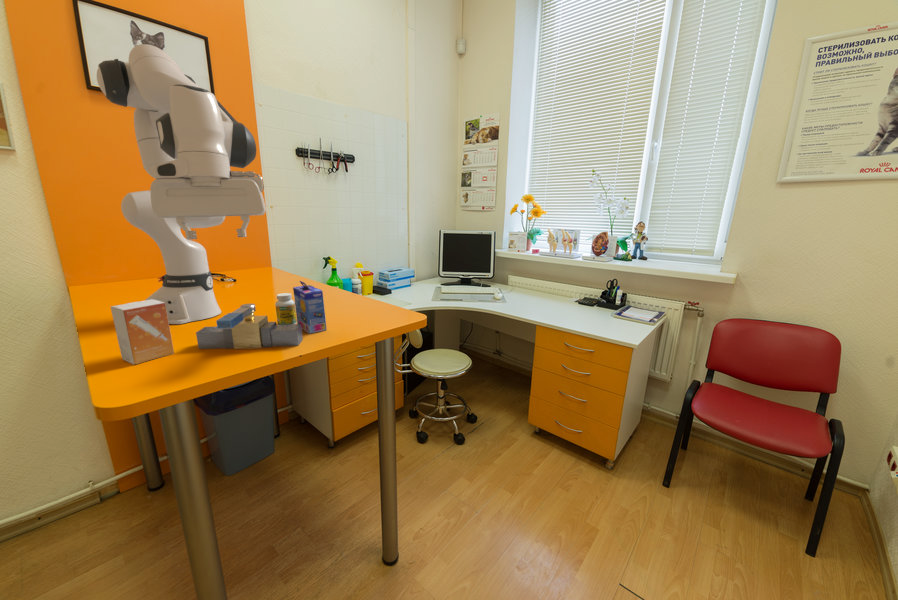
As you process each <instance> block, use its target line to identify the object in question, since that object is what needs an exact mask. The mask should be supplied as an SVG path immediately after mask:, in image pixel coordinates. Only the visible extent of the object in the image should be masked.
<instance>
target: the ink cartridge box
mask: <svg viewBox="0 0 898 600" xmlns="http://www.w3.org/2000/svg"><path fill="white" fill-rule="evenodd" d="M299 283H300V284H301V286H294V287H292V290H293V297H294V298H293V299H294V302H295V311H296V320H297V323H296V325H297V324H301V325H302V331H303V330H304V331H305V332H306V333H307V334H314V333H319V332H324V331H327V330H328V329H327V320H326V312H325V311H326V310H325V302H324V293H323V290H322V289H321V288H317V287H315V286H313V285H310V284H308V285H307V284H306V283H305V282H304V281H301V280H299Z"/></svg>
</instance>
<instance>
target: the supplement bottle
mask: <svg viewBox="0 0 898 600" xmlns="http://www.w3.org/2000/svg"><path fill="white" fill-rule="evenodd" d="M276 299H277V301H276V302H275V305H274V306H275V312H276V320H277V321H276V324H277V325H297V316H296V308H295V300H293V299H292V293H290V292H283V293H278V294H276Z"/></svg>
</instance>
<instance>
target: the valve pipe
mask: <svg viewBox="0 0 898 600" xmlns="http://www.w3.org/2000/svg"><path fill="white" fill-rule="evenodd" d="M195 335H196V340H197V346H198V349H199V350H204V349H205V350H206V349H207V350H208V349H213V350H214V349H226V350H227V349H228V350H229V349H234V350H249V349H250V350H251V349H252V350H253V349H263V348H273V347H296V346H300V344H301V343H302V341H303V338H304V337H303V329H302V325H301V324H297V323H296V324H295V325H278V323H277V321H269V318H268V315H255V312H252V313H251V314H249V315H248V316H246V317H245V318H244V319H243V321H241V322H240V323H239V324H237V325H236V326H234V327H233V328H220V329H217V326H204V327H202V328H200V329H199V330H198V331H196V332H195Z"/></svg>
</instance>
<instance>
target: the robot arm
mask: <svg viewBox="0 0 898 600" xmlns="http://www.w3.org/2000/svg"><path fill="white" fill-rule="evenodd" d="M96 81H97V85H98V87H99V89H100V90H101V93H103V94H104V96H105V99H107V100H108V101H109V102H110V103H112V104H115V105H118V106H121V107H125V108H127V107H131V108H135V110H134V112H133V124H134V125H133V126H134V133H135V139H136V143H137V147H138V152H139V155H140V158H141V159H140V160H141V163H142V167H143V169H144V170H145V172H147V174H148V175H149V176H150V177H152V178H153V179H154V180H153V181H151V184H150V187H149V188H150V190H149V189H148V190H140V191H133V192H127V194H126V195H124V196H123V198H122V200H121V204H120V208H121V209H120V210H121V212H122V215H123V217H124V218H125V220H126V221H127V222H128V223H130V225H132V226H133V227H135V228H137V229H138V230H141V231H143V232H144V233H145V234H147V236H149V237H150V238H151V239H152V240H153V241H154V242H155V244H157V246H158V248H159V250H160V253H161V257H162V259H163V263H164V264H163V265H164V267H165V268H164V269H165V271H166V272H165V274H163V275H162V276H161V277H157V280H158V283H160V282H162V284H161V285H162V286H161V287H159V288H158V289H157V290H156V291H154V292H153V293H151V294H150V295H149V296H148V297H147V298H145V300H150V299H154V300H158V301H161V302H165V305H166V310H167V316H168V322H169V325H182V324H186V323H190V322H195V321H202V320H205V319H210V318H213V317H217V316H218V315H221V313H222V310H221V308H220V306H219V304H218V302H217V299H216V296H215V293H214V281H213V277H212V272H211V270H210V267H209V261H208V255H207V250H206V248H205V247H204V246H203V244H201V243H200V242H198V241H195V240H197V239H198V236H197V231H196V230H192V229H207V228H212V227H215V226H216V227H217V226H220V225H223V222H224V221H225V219H226V217H240V220H241V221H242V222H243V223H242V224H241V227H240V228H236V232H237V233H236V234H237V238H246V237H247V228H248V226H249V223H250V222H251V219H250V216H264V215H265V213H266V212H267V208H266V203H265V199H264V195H263V191H264V189H265V188H264V187H265V186H264V180H263V177H262V176H261V175H260V174H258V173H255V172H254V171H250V170H249V171H239V170H231V167H233V168H238V169H244V168H246V167H248V166H249V165H250V164H251V163H252V162H253V161H254V160H255V159H256V156H257V144H256V141H255V137H254V135H253V134H252V132H251V131H250V130H249V128H248V127H246V125H244V124H243V123H242V122H240V121H238V120H236V119H235V118H234V117H233V116H232V114H231V113H230V112H229V111H228V110H227V109H226V108H225V107H224V106H223V104H222V103H221V102H219V101H218V100H217V97H216V96H215V94H214V93H212V92H211V91H210V90H209V89H205V88H202V87H200V86H199V85H197V84H196V83H197V82H196V81H195V80H194V79H193V78H192V77H191V76H189V75H187V74H184V72H183V71H182V69H181V68H180V66H179V65H178V64H177V62H176V61H175V60H174V59H173V58H172V57H171V56H169V55H168V53H167V52H165V51H164V50H162V49H161V48H160V47H158V46H155V45H152V44H146V43H143V44H138V45H135V46H134V47H133V48H131V50H130V51H129V55H128V61H123V60H119V58H114V60H113V59H111V60H110V59H109V60H103V61H102V62H100V63H98V68H97V70H96ZM181 229H182V230H183V231H184V233H185V236H184V235H183V232H182V230H181Z"/></svg>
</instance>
